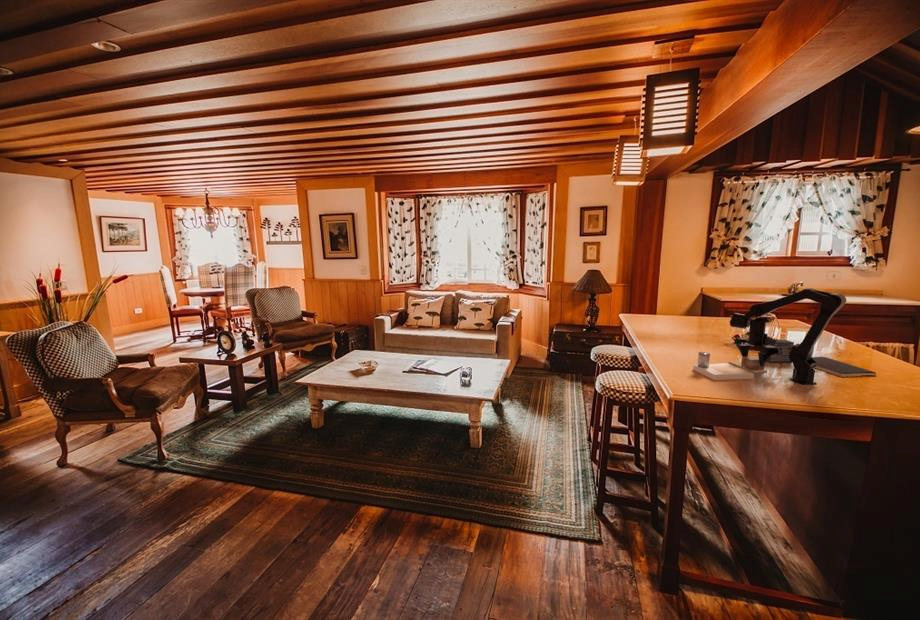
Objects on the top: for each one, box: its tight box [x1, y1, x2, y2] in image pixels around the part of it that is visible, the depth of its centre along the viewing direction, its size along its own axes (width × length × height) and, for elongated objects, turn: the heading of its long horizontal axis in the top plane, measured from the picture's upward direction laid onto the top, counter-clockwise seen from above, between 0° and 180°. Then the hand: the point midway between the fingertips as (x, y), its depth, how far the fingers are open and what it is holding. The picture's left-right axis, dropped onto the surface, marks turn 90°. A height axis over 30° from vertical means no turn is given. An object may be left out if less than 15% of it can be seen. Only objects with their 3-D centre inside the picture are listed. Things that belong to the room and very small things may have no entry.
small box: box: [763, 339, 795, 364], centre depth 191 cm, size 11×6×10 cm, turn 84°
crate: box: [740, 355, 768, 374], centre depth 179 cm, size 6×9×6 cm, turn 94°
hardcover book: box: [812, 356, 876, 378], centre depth 180 cm, size 16×23×2 cm
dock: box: [692, 361, 755, 381], centre depth 175 cm, size 14×18×3 cm
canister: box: [696, 351, 711, 368], centre depth 178 cm, size 5×5×6 cm
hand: (753, 363), depth 178 cm, fingers open, 9 cm apart
